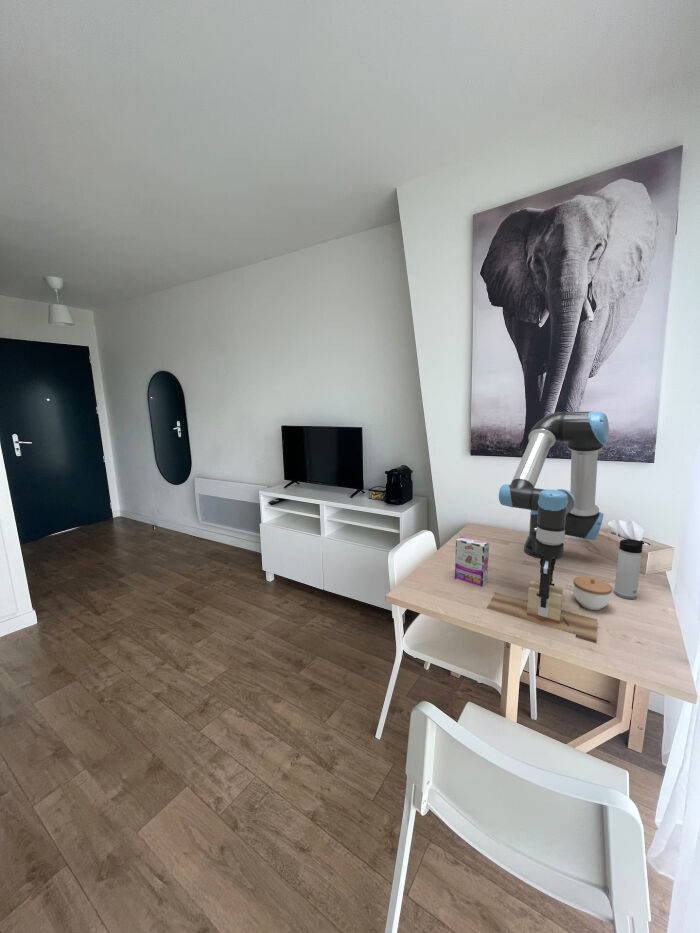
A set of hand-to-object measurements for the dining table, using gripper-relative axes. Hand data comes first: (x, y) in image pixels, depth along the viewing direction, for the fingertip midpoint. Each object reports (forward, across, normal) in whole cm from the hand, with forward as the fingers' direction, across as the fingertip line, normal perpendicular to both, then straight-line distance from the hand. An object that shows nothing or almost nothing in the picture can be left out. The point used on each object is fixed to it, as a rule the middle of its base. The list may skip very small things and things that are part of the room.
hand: (544, 610), depth 114 cm
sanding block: (+1, 0, 0) cm, 1 cm away
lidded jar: (+3, -16, +12) cm, 20 cm away
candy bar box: (+3, -11, -26) cm, 28 cm away
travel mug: (+3, -30, +22) cm, 37 cm away
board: (+2, 0, -1) cm, 3 cm away
